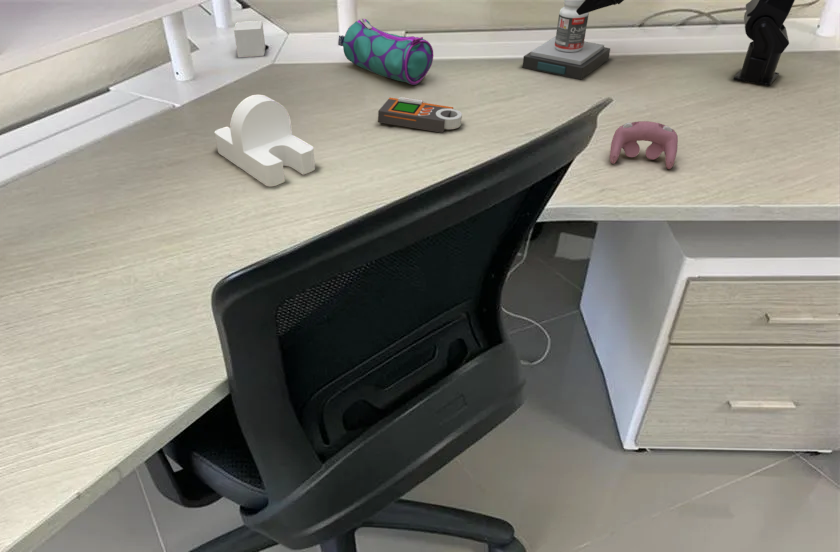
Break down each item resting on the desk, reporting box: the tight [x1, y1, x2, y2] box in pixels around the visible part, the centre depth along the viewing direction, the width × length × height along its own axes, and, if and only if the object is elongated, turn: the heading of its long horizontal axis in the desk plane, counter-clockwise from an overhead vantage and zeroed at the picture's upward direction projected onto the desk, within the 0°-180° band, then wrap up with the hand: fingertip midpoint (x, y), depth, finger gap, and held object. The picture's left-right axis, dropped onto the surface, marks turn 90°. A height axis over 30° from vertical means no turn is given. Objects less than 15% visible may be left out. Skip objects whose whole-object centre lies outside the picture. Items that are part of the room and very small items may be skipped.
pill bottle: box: [555, 0, 590, 52], centre depth 141 cm, size 6×6×10 cm
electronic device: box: [377, 96, 463, 133], centre depth 128 cm, size 7×3×15 cm
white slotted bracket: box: [214, 94, 316, 188], centre depth 117 cm, size 10×18×11 cm, turn 37°
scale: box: [521, 35, 611, 81], centre depth 146 cm, size 13×13×3 cm
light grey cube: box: [233, 20, 266, 58], centre depth 161 cm, size 6×6×6 cm
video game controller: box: [609, 120, 679, 170], centre depth 112 cm, size 10×5×7 cm, turn 71°
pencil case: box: [337, 17, 434, 86], centre depth 145 cm, size 21×9×10 cm, turn 39°
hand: (580, 6), depth 139 cm, fingers open, 9 cm apart
